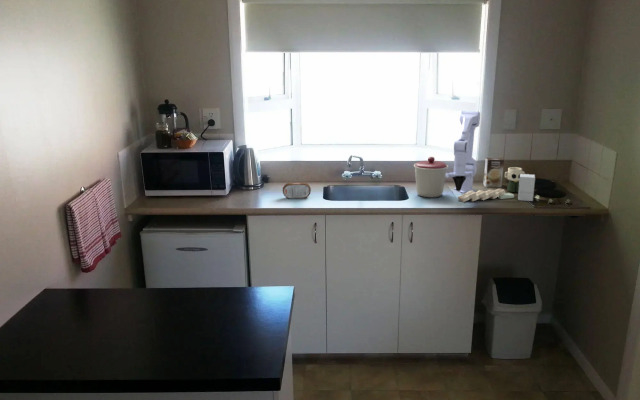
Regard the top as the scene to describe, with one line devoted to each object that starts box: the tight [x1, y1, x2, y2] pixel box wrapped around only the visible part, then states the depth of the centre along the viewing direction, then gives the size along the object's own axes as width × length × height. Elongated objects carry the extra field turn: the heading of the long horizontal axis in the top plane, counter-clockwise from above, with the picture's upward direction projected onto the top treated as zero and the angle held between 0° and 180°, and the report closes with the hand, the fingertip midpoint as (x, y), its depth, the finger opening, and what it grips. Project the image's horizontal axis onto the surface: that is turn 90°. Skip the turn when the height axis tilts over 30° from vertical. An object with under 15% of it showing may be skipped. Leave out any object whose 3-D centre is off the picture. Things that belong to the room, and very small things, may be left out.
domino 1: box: [457, 191, 477, 203], centre depth 267 cm, size 4×2×8 cm
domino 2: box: [469, 189, 486, 202], centre depth 269 cm, size 4×2×8 cm
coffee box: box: [482, 157, 505, 188], centre depth 295 cm, size 9×6×16 cm
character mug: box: [504, 166, 526, 193], centre depth 283 cm, size 11×7×13 cm, turn 93°
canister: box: [413, 156, 449, 198], centre depth 277 cm, size 18×18×21 cm
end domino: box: [498, 192, 515, 200], centre depth 274 cm, size 4×2×8 cm
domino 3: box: [478, 188, 496, 201], centre depth 270 cm, size 4×2×8 cm
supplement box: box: [517, 173, 536, 202], centre depth 268 cm, size 7×7×13 cm
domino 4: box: [489, 187, 506, 200], centre depth 272 cm, size 4×2×8 cm
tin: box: [282, 182, 312, 199], centre depth 276 cm, size 15×3×8 cm, turn 94°
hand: (458, 190), depth 265 cm, fingers closed
